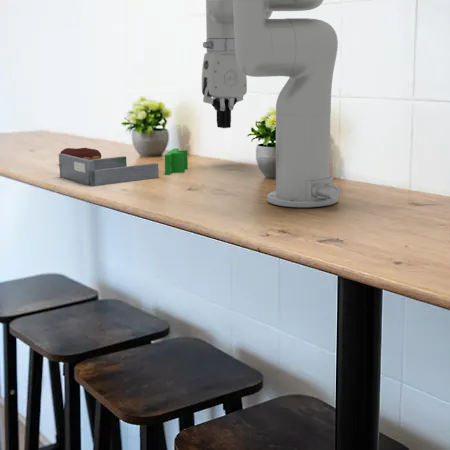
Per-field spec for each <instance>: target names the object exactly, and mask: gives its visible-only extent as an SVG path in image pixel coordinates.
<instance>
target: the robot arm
mask: <svg viewBox="0 0 450 450" xmlns="http://www.w3.org/2000/svg"><path fill="white" fill-rule="evenodd" d="M323 2H324V0H205V9H206V10H205V11H206V13H205V15H206V16H205V17H206V20H205V21H206V26H205V27H206V40H205V41H204V42H203V43H202V47H203V48H204V49H206V52H205V53H204V56H203V59H202V61H203V63H202V69H201V93H202V96H203V100H202V101H203V103H205V104H210V105H211V106H212V107H213V109H214V111H216V126H217V128H220V129H229V128H231V127H232V125H231V124H232V123H231V122H232V111H233V110H234V106H236V104H237V103H238V102H242V101H243V100H244V99H243V97H244V96H246V94H247V91H248V83H247V82H248V81H247V76H248V77H254V78H255V77H256V78H262V77H264V78H266V77H267V78H268V77H288V79H287V81H286V82H285V84H284V86H283V87H282V88H281V91H280V92H279V94H278V96H277V98H276V99H277V100H276V103H275V190H274V191H271V192H269V193H268V194H267V196H266V199H267V202H268V203H270V204H271V205H276V206H280V207H288V208H321V207H326V206H332V205H334V204H336V203H338V201H339V196H340V195H341V194H343V188H342V186H337V185H334V177H331V176H330V175H331V174H330V172H331V170H330V167H331V165H330V164H331V113H332V112H331V111H332V106H331V105H332V89H333V88H332V86H333V76H334V70H335V65H336V60H337V55H338V48H339V47H338V46H339V41H338V36H337V32H336V30H335V29H334V27H332V25H331V24H330V23H328V22H327V21H324V20H322V19H318V18H317V19H316V18H306V17H305V18H304V17H303V18H299V17H298V18H295V17H294V18H293V17H291V18H287V17H286V18H270V17H271V16H272V14H273V12H303V11H304V12H305V11H310V10H311V11H312V10H314V9H317V8H318V7H319V6H321V4H322V3H323Z"/></svg>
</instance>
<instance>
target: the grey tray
mask: <svg viewBox="0 0 450 450" xmlns="http://www.w3.org/2000/svg"><path fill="white" fill-rule="evenodd" d="M58 164H59V178H63V179H67V180H69V181H73V182H75V183H79V184H83V185H86V186H89V187H90V186H91V187H95V186H96V187H97V186H103V185H109V184H117V183H126V182H135V181H141V180H149V179H157V178H159V163H158V162H153V163H144V164H138V165H128V164H127V156H123V155H122V156H112V157H107V158H105V157H104V158H101V159H94V160H87V159H83V158H79V157H75V156H70V155H66V154H60V153H58ZM127 165H128V166H127Z"/></svg>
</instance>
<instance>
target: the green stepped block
mask: <svg viewBox="0 0 450 450" xmlns="http://www.w3.org/2000/svg"><path fill="white" fill-rule="evenodd" d="M188 157H189V156H188V150H187V149H180V150H179V148H172V149H171V150H170V151H168V152H167V153H165V154H164V175H165V176H167V175H168V176H170V175H172V173H173V172H174V173H181V174H182V173H183V174H184V173H185V170H188V169H189V166H188V165H189V164H188V163H189V162H188Z"/></svg>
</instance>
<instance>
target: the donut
mask: <svg viewBox="0 0 450 450" xmlns="http://www.w3.org/2000/svg"><path fill="white" fill-rule="evenodd" d="M59 154H66V155H70V156H75V157H79V158H83V159H87V160H94V159H102V154H101V152H100V151H99V150H98V149H95V148H89V147H80V148H74V147H73V148H71V147H67V148H64V149H62V150H61V151H60V153H59Z"/></svg>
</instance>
